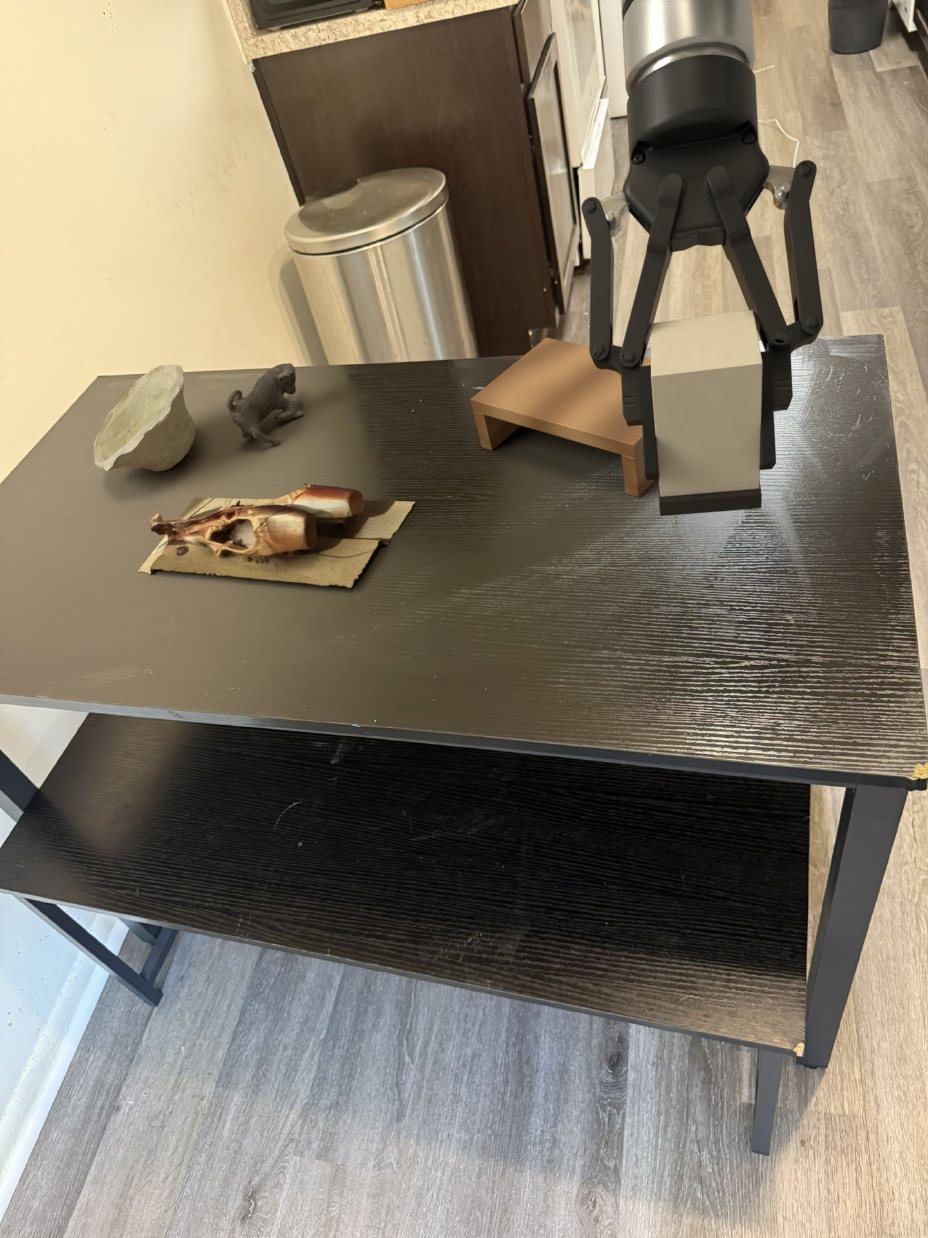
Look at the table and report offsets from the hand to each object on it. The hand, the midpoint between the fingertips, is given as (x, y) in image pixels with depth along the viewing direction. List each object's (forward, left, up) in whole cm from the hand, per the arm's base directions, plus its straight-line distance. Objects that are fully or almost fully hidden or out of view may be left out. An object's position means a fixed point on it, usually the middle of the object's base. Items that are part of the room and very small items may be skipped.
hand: (708, 471), depth 52 cm
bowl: (+71, -19, -19) cm, 76 cm away
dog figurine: (+59, -28, -19) cm, 68 cm away
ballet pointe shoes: (+47, -8, -19) cm, 51 cm away
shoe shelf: (+19, -29, -19) cm, 39 cm away
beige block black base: (+1, -5, -3) cm, 7 cm away
